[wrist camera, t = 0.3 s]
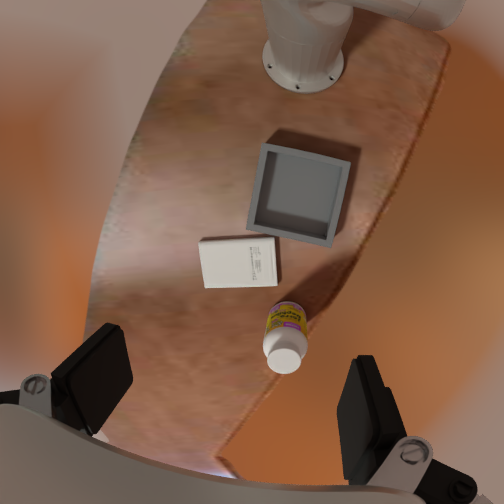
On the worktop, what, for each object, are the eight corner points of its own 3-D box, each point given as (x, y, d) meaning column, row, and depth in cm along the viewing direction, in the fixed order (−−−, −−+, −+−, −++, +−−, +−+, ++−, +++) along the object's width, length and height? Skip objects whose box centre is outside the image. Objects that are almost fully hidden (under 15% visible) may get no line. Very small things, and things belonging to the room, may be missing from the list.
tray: (263, 144, 41) (261, 142, 38) (346, 162, 40) (350, 162, 37) (248, 225, 45) (245, 229, 42) (328, 242, 44) (331, 247, 41)
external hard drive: (200, 239, 48) (274, 235, 46) (207, 284, 50) (277, 283, 48) (197, 242, 46) (274, 238, 44) (204, 288, 48) (277, 287, 46)
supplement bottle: (306, 299, 48) (310, 342, 35) (305, 332, 49) (307, 378, 37) (267, 299, 49) (259, 342, 36) (268, 332, 50) (261, 378, 38)
